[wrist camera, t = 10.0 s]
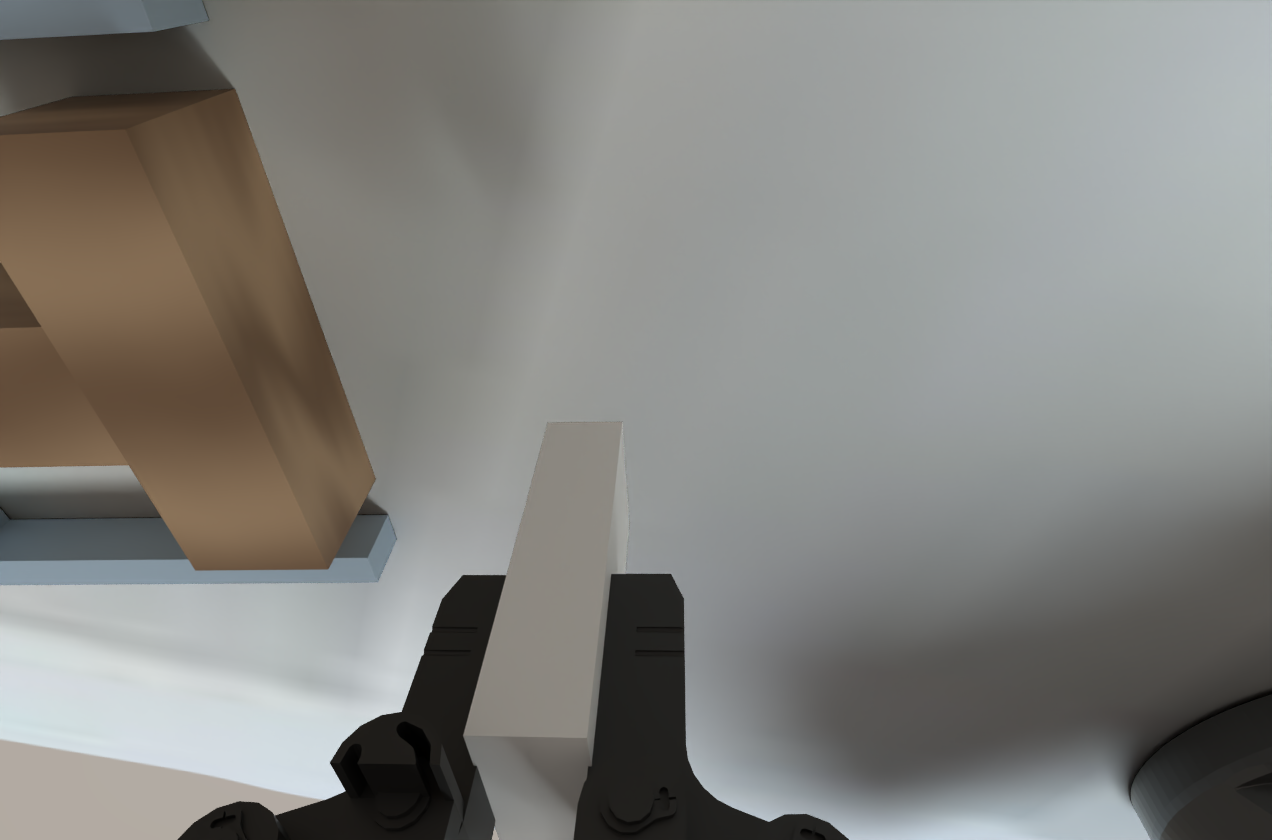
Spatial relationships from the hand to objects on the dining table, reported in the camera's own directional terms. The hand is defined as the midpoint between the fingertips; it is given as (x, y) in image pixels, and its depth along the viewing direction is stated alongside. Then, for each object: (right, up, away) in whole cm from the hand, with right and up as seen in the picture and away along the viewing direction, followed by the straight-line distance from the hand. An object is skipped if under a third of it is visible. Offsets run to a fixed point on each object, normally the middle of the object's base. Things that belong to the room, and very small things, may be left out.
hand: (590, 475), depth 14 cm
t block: (-14, +4, +6) cm, 16 cm away
